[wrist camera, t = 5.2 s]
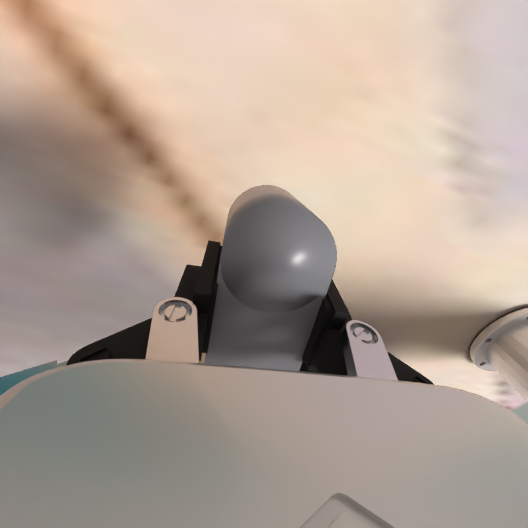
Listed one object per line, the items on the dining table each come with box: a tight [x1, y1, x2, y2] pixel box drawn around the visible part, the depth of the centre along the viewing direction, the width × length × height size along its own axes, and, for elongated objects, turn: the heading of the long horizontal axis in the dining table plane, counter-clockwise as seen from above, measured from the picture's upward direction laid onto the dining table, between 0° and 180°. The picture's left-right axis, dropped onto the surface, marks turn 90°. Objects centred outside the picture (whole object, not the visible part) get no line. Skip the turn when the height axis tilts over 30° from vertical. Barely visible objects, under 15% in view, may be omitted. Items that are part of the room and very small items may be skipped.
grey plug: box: [204, 185, 337, 371], centre depth 12 cm, size 11×4×5 cm, turn 167°
